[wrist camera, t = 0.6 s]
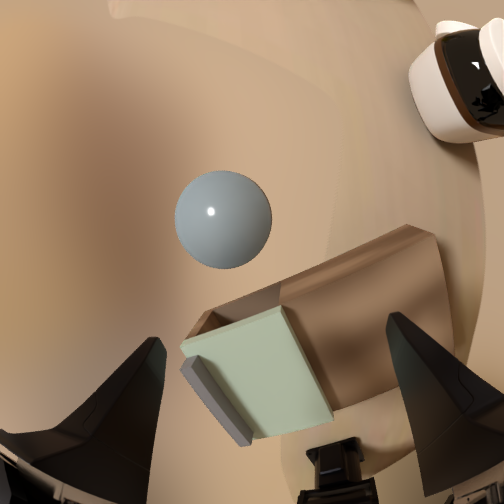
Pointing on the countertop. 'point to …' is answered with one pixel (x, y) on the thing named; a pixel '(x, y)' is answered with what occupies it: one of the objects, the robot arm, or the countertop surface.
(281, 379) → the cover
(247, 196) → the grey dome cap
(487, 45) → the spread jar
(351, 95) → the countertop surface
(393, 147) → the countertop surface
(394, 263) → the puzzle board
